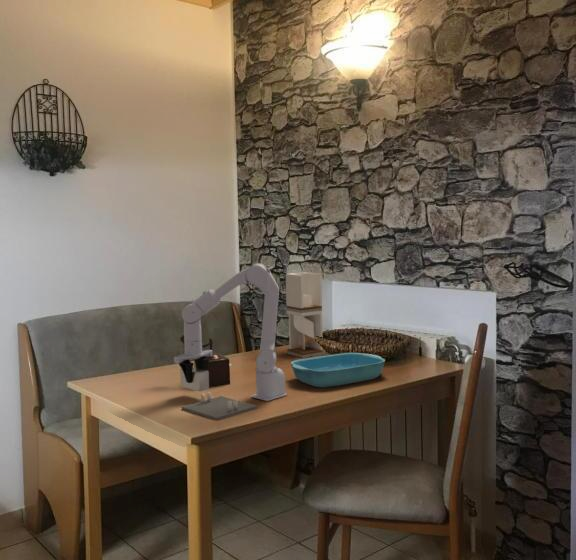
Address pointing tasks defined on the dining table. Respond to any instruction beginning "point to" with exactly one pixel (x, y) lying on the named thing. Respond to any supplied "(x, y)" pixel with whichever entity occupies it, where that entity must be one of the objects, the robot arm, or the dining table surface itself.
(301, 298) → the cream table lamp
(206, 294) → the robot arm
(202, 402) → the dock
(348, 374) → the casserole dish
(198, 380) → the block
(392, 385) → the dining table surface
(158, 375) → the dining table surface
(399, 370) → the dining table surface
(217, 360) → the brown wooden grinder
